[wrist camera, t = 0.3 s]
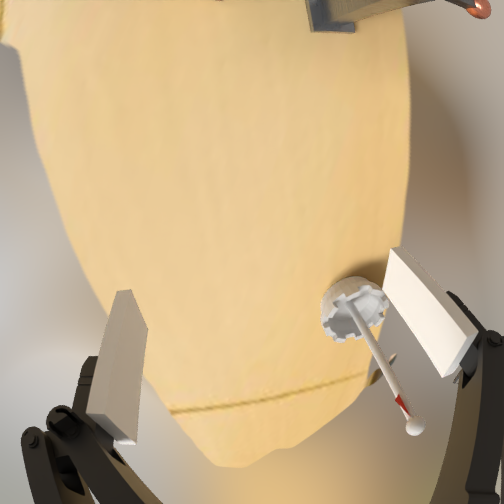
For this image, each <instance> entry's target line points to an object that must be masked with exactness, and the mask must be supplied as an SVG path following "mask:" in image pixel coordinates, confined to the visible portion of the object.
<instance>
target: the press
mask: <svg viewBox="0 0 504 504" xmlns="http://www.w3.org/2000/svg"><path fill="white" fill-rule="evenodd" d="M429 1H435V0H305V3H306V8H307V13H308V19H309V24H310V30H311V32H322V33H347V34H352V33H355V28H354V23H353V22H356V21H359V20H361V19H365V18H368V17H371V16H374V15H377V14H381V13H384V12H388V11H391V10H395V9H399V8H403V7H406V6H411V5H415V4H420V3H424V2H429Z"/></svg>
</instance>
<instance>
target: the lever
mask: <svg viewBox="0 0 504 504" xmlns="http://www.w3.org/2000/svg"><path fill="white" fill-rule="evenodd" d="M445 1H448V2H451V3H453V4H456V5H458V6H460V7H463V8H465V9H466V10H467V12H468V13H470V15H472V16H473V17H475V18H478V19H486V18H488V17H489V16H490V14H491V6H490V4H489V2H488V1H487V0H445Z"/></svg>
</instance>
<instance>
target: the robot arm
mask: <svg viewBox="0 0 504 504" xmlns="http://www.w3.org/2000/svg"><path fill="white" fill-rule="evenodd" d="M382 290H383V291H384V292H385V294H386V295H387V296H388V298H389V299H390V301H391V302H392V303H393V305H394V306H395V307H396V309H397V310H398V312H399V313H400V315H401V316H402V317H403V319H404V320H405V321H406V323H407V324H408V326H409V327H410V329H411V330H412V332H413V333H414V335H415V336H416V338H417V339H418V341H419V342H420V344H421V345H422V347H423V348H424V350H425V351H426V353H427V354H428V356H429V357H430V359H431V361H432V362H433V364H434V365H435V367H436V369H437V370H438V372H439V373H440V375H441V377H442V378H443V377H445V376H447V375H449V374H451V373H453V372H454V371H455V370H456V368H457V367H458V365H459V364H460V366H461V367H462V370H461V371H460V372H459V373H458V375H457V377H456V378H455V379H454V382H453V383H456V381H457V380H458V379H459V383H458V393H457V399H456V406H455V412H454V417H453V423H452V428H451V432H450V437H449V442H448V446H447V450H446V454H445V458H444V461H443V465H442V469H441V472H440V476H439V478H438V482H437V485H436V488H435V491H434V494H433V496H432V499H431V502H430V504H499V503H500V497H499V495H498V494H497V493H495V485H496V481H497V476H498V471H499V466H500V460H501V474H502V475H501V480H502V481H501V504H504V336H501V335H500V334H499V333H498V332H495V331H492V330H488V331H486V329H485V328H484V327H483V326H482V325H481V323H480V322H479V321H478V320H477V319H476V318H475V316H474V315H473V314H472V313H471V311H469V310H468V308H467V307H466V306H465V305H464V303H463V302H462V301H461V300H460V299H459V298H458V297H457V296H456V295H454V294H453V293H451V292H450V291H447V292H445V291H444V290H443V289H442V288H441V286H440V285H439V284H438V283H437V282H436V281H435V280H434V279H433V278H432V277H431V276H430V274H429V273H428V272H427V271H426V270H425V269H424V268H423V267H422V266H421V265H420V264H419V263H418V262H417V261H416V260H415V259H414V258H413V257H412V256H411V255H410V254H409V253H408V252H407V251H406V250H405V249H404V248H403V247H402V246H400V247H395V248H391V249H390V254H389V259H388V264H387V269H386V274H385V279H384V283H383V288H382ZM147 334H148V328H147V326H146V323H145V321H144V319H143V317H142V314H141V312H140V310H139V307H138V305H137V303H136V300H135V298H134V295H133V293H132V290H131V289H130V290H123V291H117V293H116V296H115V299H114V302H113V305H112V309H111V312H110V315H109V319H108V322H107V325H106V329H105V333H104V336H103V340H102V344H101V347H100V351H99V355H98V356H89V357H88V358H87V360H86V361H85V363H84V364H83V366H82V369H81V373H80V378H79V380H78V386H77V389H76V393H75V397H74V402H73V407H72V409H71V408H70V407H67V406H65V405H59V406H57V407H54V408H53V409H52V410H51V411H50V412H49V414H48V416H47V420H46V425H47V429H48V430H49V431H45V432H43V431H42V430H40V429H39V428H37V427H29V428H27V429H26V430H25V431H24V433H23V434H22V437H21V446H22V453H23V458H24V463H25V468H26V473H27V477H28V481H29V485H30V489H31V492H32V496H33V499H34V503H35V504H95V502H94V500H93V498H92V495H91V493H90V490H91V492H92V493H93V494H94V496H95V497H96V499H97V500H98V502H99V503H100V504H163V503H162V502H161V501H160V500H159V499H158V498H157V497H156V496H155V495H154V494H153V493H152V492H151V491H150V490H149V488H148V487H147V486H146V485H145V484H144V483H143V482H142V481H141V479H140V478H139V477H138V476H137V475H136V474H135V472H134V471H133V470H132V469H131V468H130V466H129V465H128V464H127V463H126V461H125V460H124V459H123V457H122V456H121V455H120V454H119V452H118V451H117V450H116V448H114V447H113V442H114V439H115V440H116V441H117V442H118V443H120V444H135V445H136V444H137V430H138V414H139V402H140V392H141V382H142V373H143V364H144V356H145V348H146V341H147ZM88 487H89V488H88ZM89 489H90V490H89Z"/></svg>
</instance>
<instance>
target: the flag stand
mask: <svg viewBox="0 0 504 504" xmlns="http://www.w3.org/2000/svg"><path fill="white" fill-rule="evenodd" d="M388 307H389V301H388V298H387V296H386V295H385V294H384V292H383V290H382V289H381V288H380V287H379V286H378V285H377V284H375V283H373V282H369V281H368V280H367V279H366V278H363V277H360V276H352V277H347V278H344V279H342V280H340V281H338V282H336V283H335V284H334V285H332V286H331V287H330V288H329V289H328V290H327V292H326V293H325V294H324V296H323V298H322V301H321V318H320V320H321V325H322V327H323V329H324V331H325V333H326V335H327V336H331V337H332V338H333V340H334V341H335V342H340V343H344V342H345V340H346V338H349V337H353V336H354V338H355V340H358V339H361V338H363V337H364V338H365V340H366V342H367V344H368V346H369V348H370V349H371V351H372V353H373V355H374V357H375V359H376V360H377V362H378V364H379V366H380V368H381V370H382V372H383V374H384V376H385V377H386V379H387V381H388V383H389V385H390V387H391V389H392V391H393V393H394V395H395V397H396V399H395V401H396V402H397V403H398V404H399V405H400V407H401V409H402V411H403V413H404V415H405V417H406V419H407V421H408V422H407V424H406V431H407V432H408V433H409V434H410V435H418V434H420V433H421V432H422V431H423V430H424V428H425V425H426V423H425V420H424V418H422V417H421V416H417V415H416V413H415V411H414V409H413V407H412V405H411V403H410V401H409V399H408V398H407V396H406V394H405V392H404V390H403V388H402V386H401V384H400V383H399V381H398V379H397V377H396V375H395V373H394V372H393V370H392V368H391V366H390V364H389V363H388V361H387V359H386V357H385V355H384V354H383V352H382V350H381V348H380V347H379V345H378V343H377V341H376V340H375V338H374V336H373V335H372V333H371V331H370V329H369V328H370V327H371V326H372V325H373V324H374V326H376V327H378V326H379V325H380V324H381V322H382V321H383V320H384V318H385V317H384V315H383V314H382V313H383V311H384V309H386V308H388Z"/></svg>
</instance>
